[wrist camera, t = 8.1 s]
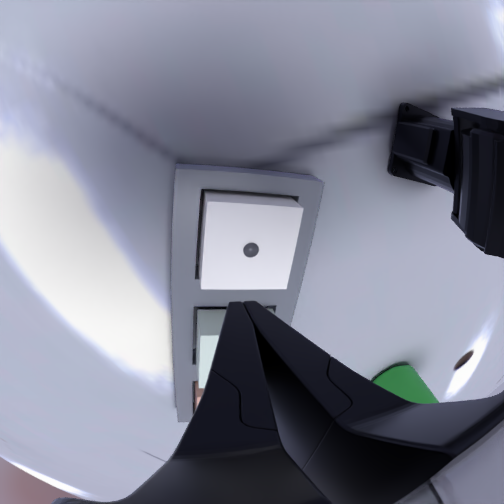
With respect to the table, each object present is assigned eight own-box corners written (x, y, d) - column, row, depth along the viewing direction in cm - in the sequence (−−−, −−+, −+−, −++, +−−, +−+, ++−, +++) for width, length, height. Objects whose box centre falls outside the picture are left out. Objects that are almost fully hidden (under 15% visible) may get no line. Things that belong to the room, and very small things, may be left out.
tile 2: (272, 308, 24) (283, 333, 21) (261, 359, 26) (269, 384, 24) (197, 309, 22) (200, 336, 20) (195, 362, 25) (198, 389, 22)
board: (313, 175, 22) (324, 182, 20) (259, 403, 33) (263, 416, 31) (176, 163, 19) (175, 168, 17) (176, 408, 31) (178, 422, 29)
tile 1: (288, 194, 21) (304, 208, 18) (274, 268, 24) (286, 289, 21) (204, 188, 20) (207, 202, 17) (198, 267, 22) (201, 290, 20)
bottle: (351, 402, 39) (422, 536, 17) (382, 362, 35) (476, 506, 14) (389, 397, 41) (458, 509, 20) (419, 360, 38) (505, 477, 16)
